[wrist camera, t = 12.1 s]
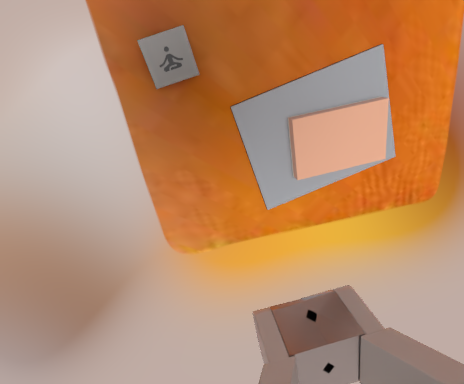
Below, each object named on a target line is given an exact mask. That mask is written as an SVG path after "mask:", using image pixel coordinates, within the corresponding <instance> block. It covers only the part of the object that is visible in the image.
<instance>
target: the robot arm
mask: <svg viewBox="0 0 464 384" xmlns="http://www.w3.org/2000/svg"><path fill="white" fill-rule="evenodd" d="M253 318H254V323H255V328H256V333H257V338H258V342H259V346H260V350H261V354H262V358H263V361H264V366H263V369H262V373H261V377H260V380H259V384H350V383H354V382H357V381H360V383H361V384H464V364H462V363H460V362H458V361H456V360H454V359H452V358H450V357H448V356H446V355H444V354H442V353H440V352H438V351H436V350H434V349H432V348H430V347H428V346H426V345H424V344H422V343H420V342H418V341H416V340H414V339H412V338H410V337H408V336H406V335H404V334H402V333H400V332H398V331H396V330H394V329H392V328H386V329H385V328H384V327H383V326H382V324H381V323H380V322H379V321H378V319H377V318H376V317H375V316H374V314H373V313H372V312H371V311H370V309H369V308H368V307H367V306H366V304H365V303H364V302H363V300H362V299H361V298H360V297H359V295H358V294H357V293H356V292H355V290H354V289H353V288H352V287H351V286H349V285H347V286H343V287H340V288H336V289H333V290H328V291H325V292H322V293H318V294H315V295H311V296H309V297H304V298H301V299H299V300H296V301H292V302H287V303H283V304H279V305H275V306H271V307H270V308H269V307H268V308H264V309H260V310H257V311H253Z"/></svg>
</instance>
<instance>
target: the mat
mask: <svg viewBox="0 0 464 384" xmlns="http://www.w3.org/2000/svg"><path fill="white" fill-rule="evenodd" d="M376 97H386V98H389V92H388V83H387V74H386V64H385V55H384V46H383V44H381V45H378V46H376V47H373V48H371V49H369V50H366V51H364V52H361V53H359V54H357V55H354V56H352V57H349V58H347V59H344V60H342V61H340V62H337V63H335V64H332V65H330V66H327V67H325V68H323V69H320V70H318V71H315V72H313V73H311V74H308V75H306V76H303V77H301V78H298V79H296V80H294V81H291V82H289V83H286V84H284V85H282V86H279V87H277V88H274V89H272V90H269V91H267V92H265V93H262V94H260V95H257V96H255V97H253V98H250V99H248V100H245V101H243V102H240V103H238V104H236V105H233V106H231V110H232V113H233V115H234V118H235V121H236V124H237V126H238V129H239V132H240V135H241V138H242V140H243V143H244V146H245V149H246V152H247V154H248V157H249V160H250V163H251V166H252V168H253V171H254V174H255V177H256V179H257V182H258V185H259V188H260V191H261V193H262V196H263V199H264V202H265V205H266V207H267V210H269V209H271V208H274V207H276V206H278V205H281V204H283V203H286V202H288V201H290V200H293V199H295V198H298V197H300V196H302V195H305V194H307V193H309V192H312V191H314V190H317V189H319V188H321V187H324V186H326V185H329V184H331V183H333V182H336V181H338V180H341V179H343V178H345V177H348V176H350V175H353V174H355V173H357V172H360V171H362V170H364V169H367V168H369V167H372V166H374V165H376V164H379V163H381V162H384V161H386V160H388V159H391V158H393V157H395V147H394V138H393V129H392V120H391V111H390V101H389V103H388V122H387V140H386V159H383V160H379V161H375V162H371V163H367V164H363V165H359V166H354V167H350V168H346V169H342V170H338V171H334V172H330V173H326V174H322V175H318V176H313V177H309V178H305V179H301V180H297V179H296V178H295V177H294V176H293V170H292V159H291V148H290V138H289V127H288V117H292V116H296V115H300V114H305V113H309V112H314V111H318V110H323V109H327V108H332V107H336V106H341V105H345V104H350V103H354V102H359V101H363V100H367V99H372V98H376Z"/></svg>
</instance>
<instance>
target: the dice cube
mask: <svg viewBox="0 0 464 384" xmlns="http://www.w3.org/2000/svg"><path fill="white" fill-rule="evenodd" d="M137 41H138V43H139V46H140V49H141V51H142V54H143V56H144V59H145V61H146V64H147V66H148V69H149V71H150V74H151V76H152V79H153V81H154V84H155V86H156V89H159V88H162V87H165V86H168V85H170V84H173V83H176V82H179V81H182V80H185V79H188V78H191V77H194V76H197V75H200V74H199V71H198V68H197V65H196V62H195V59H194V56H193V53H192V50H191V47H190V44H189V41H188V38H187V34H186V31H185V28H184V25H182V26H179V27H176V28H173V29H170V30H167V31H164V32H161V33H158V34H155V35H152V36H149V37H146V38H143V39H140V40H137Z"/></svg>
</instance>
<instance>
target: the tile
mask: <svg viewBox="0 0 464 384" xmlns="http://www.w3.org/2000/svg"><path fill="white" fill-rule="evenodd" d="M388 103H389V98H386V97H376V98H372V99H367V100H363V101H359V102H354V103H350V104H345V105H341V106H336V107H332V108H327V109H323V110H318V111H314V112H309V113H305V114H300V115H296V116H292V117H288V127H289V138H290V148H291V159H292V170H293V176H294V177H295V178H296V179H297V180H301V179H305V178H309V177H313V176H318V175H322V174H326V173H330V172H334V171H338V170H342V169H346V168H350V167H354V166H359V165H363V164H367V163H371V162H375V161H379V160H383V159H386V140H387V122H388Z"/></svg>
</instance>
